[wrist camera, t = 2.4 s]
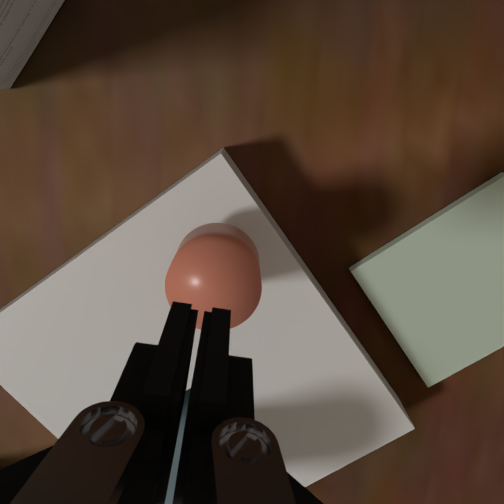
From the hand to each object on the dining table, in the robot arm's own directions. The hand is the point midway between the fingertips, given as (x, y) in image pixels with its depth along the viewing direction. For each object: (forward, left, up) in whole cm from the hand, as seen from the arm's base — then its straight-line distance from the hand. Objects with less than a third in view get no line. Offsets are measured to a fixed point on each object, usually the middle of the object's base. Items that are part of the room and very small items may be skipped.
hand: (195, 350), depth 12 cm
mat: (-11, -10, -13) cm, 20 cm away
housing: (-6, +6, -13) cm, 16 cm away
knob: (0, 0, -10) cm, 10 cm away
